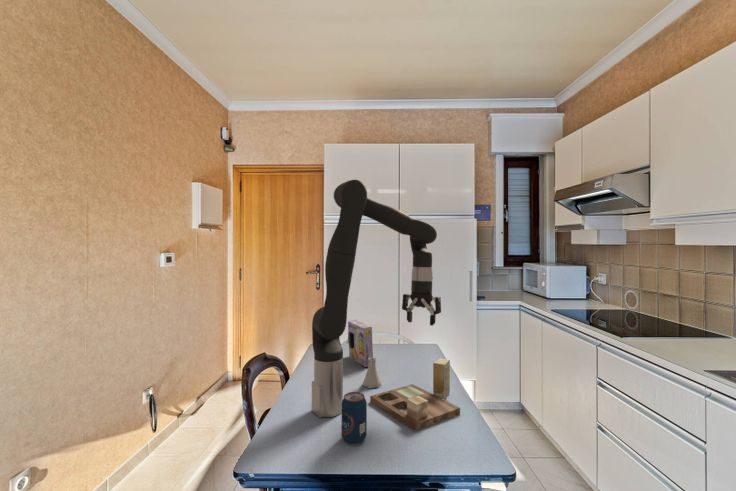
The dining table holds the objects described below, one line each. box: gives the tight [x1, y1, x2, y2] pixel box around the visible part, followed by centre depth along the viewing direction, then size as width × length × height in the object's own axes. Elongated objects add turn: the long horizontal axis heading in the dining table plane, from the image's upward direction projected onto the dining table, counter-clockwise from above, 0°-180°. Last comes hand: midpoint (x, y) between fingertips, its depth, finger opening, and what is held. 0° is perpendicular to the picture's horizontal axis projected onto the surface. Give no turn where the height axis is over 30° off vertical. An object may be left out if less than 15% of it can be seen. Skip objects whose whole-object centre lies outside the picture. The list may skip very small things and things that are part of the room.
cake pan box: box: [347, 319, 374, 368], centre depth 165 cm, size 19×5×18 cm, turn 25°
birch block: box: [406, 396, 428, 420], centre depth 109 cm, size 4×4×4 cm
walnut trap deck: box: [369, 383, 461, 432], centre depth 118 cm, size 19×23×2 cm
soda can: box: [340, 391, 368, 446], centre depth 98 cm, size 7×7×12 cm
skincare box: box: [432, 357, 451, 400], centre depth 128 cm, size 6×4×12 cm
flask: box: [362, 357, 382, 389], centre depth 137 cm, size 7×7×10 cm
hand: (420, 323), depth 130 cm, fingers open, 8 cm apart
